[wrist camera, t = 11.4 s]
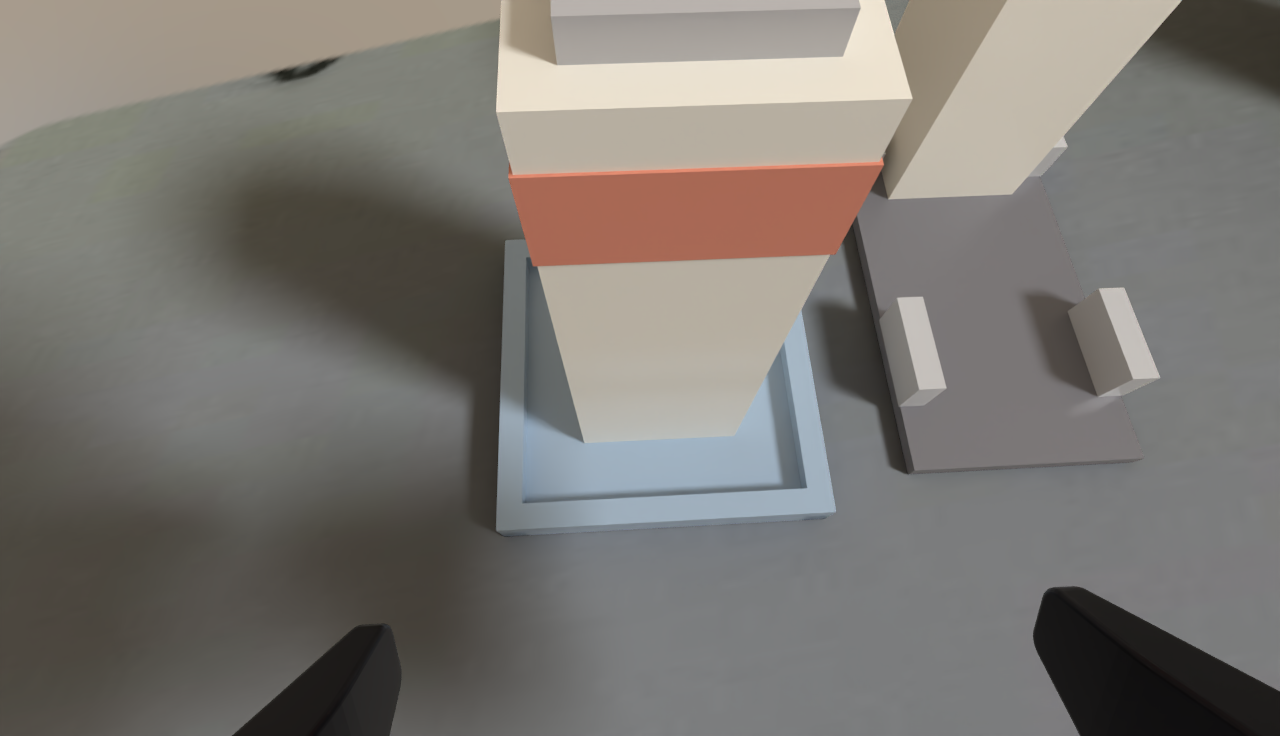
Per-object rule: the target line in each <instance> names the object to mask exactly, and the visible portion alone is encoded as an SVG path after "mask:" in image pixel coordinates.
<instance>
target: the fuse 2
mask: <svg viewBox="0 0 1280 736" xmlns="http://www.w3.org/2000/svg"><path fill="white" fill-rule="evenodd" d="M1181 1H1182V0H910V1H909V3H908V5H907V7H906V10H905V12H904V14H903V16H902V19H901V21H900V23H899V25H898V28H897V30H896V32H895V35H894V36H895V39H896V43H897V46H898V50H899V53H900V57H901V60H902V64H903V67H904V70H905V74H906V77H907V81H908V84H909V88H910V91H911V95H912V98H913V99H912V101H911V103H910V105H909V107H908V108H907V110H906V112H905V114H904V116H903V118H902V120H901V122H900V124H899V125H898V127H897V129H896V131H895V133H894V135H893V137H892V139H891V141H890V142H889V144H888V146H887V148H886V150H885V152H886V155H885V156H884V158H883V163H884V166H883V168H882V170H881V172H882V176H883V180H884V184H885V188H886V192H887V196H888V199H910V198H935V197H961V196H986V195H1011V194H1013V193H1014V192H1015V191H1016V189H1017V188H1018V187H1019V186H1020V185H1021V184H1022V183H1023V181H1024V180H1025V179H1026V178H1027V177H1028V176H1029V175H1030V173H1031V172H1032V171H1033V170H1034V169H1035V168H1036V167H1037V165H1038V164H1039V163H1040V162H1041V161H1042V160H1043V159H1044V157H1045V156H1046V155H1047V154H1048V153H1049V152H1050V151H1051V149H1052V148H1053V147H1054V146H1055V145H1056V144H1057V143H1058V141H1059V140H1060V139H1061V138H1062V137H1063V136H1064V135H1065V133H1066V132H1067V131H1068V130H1069V129H1070V128H1071V127H1072V125H1073V124H1074V123H1075V122H1076V121H1077V120H1078V119H1079V117H1080V116H1081V115H1082V114H1083V113H1084V112H1085V111H1086V110H1087V108H1088V107H1089V106H1090V105H1091V104H1092V103H1093V102H1094V100H1095V99H1096V98H1097V97H1098V96H1099V95H1100V94H1101V92H1102V91H1103V90H1104V89H1105V88H1106V87H1107V86H1108V84H1109V83H1110V82H1111V81H1112V80H1113V79H1114V78H1115V76H1116V75H1117V74H1118V73H1119V72H1120V71H1121V70H1122V68H1123V67H1124V66H1125V65H1126V64H1127V63H1128V62H1129V60H1130V59H1131V58H1132V57H1133V56H1134V55H1135V54H1136V52H1137V51H1138V50H1139V49H1140V48H1141V47H1142V46H1143V44H1144V43H1145V42H1146V41H1147V40H1148V39H1149V38H1150V36H1151V35H1152V34H1153V33H1154V32H1155V31H1156V30H1157V28H1158V27H1159V26H1160V25H1161V24H1162V23H1163V22H1164V20H1165V19H1166V18H1167V17H1168V16H1169V15H1170V14H1171V12H1172V11H1173V10H1174V9H1175V8H1176V7H1177V6H1178V5H1179V3H1180V2H1181Z"/></svg>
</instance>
